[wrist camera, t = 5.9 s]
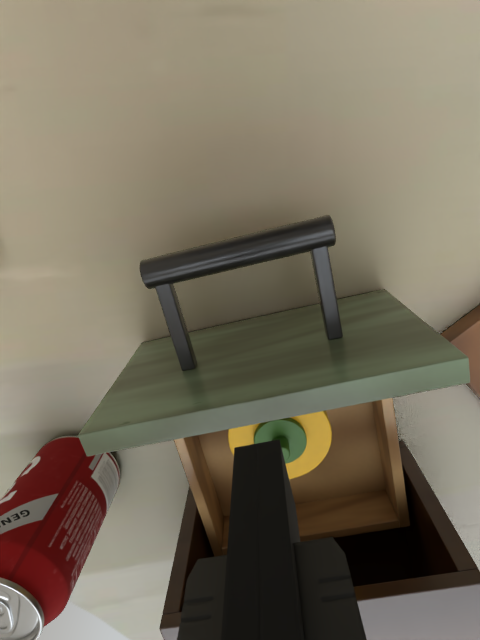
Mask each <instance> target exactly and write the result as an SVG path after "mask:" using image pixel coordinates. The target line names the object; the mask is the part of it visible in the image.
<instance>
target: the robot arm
mask: <svg viewBox="0 0 480 640" xmlns="http://www.w3.org/2000/svg"><path fill="white" fill-rule="evenodd" d="M177 640H367V639H366V635H365V631H364V627H363V623H362V619H361V615H360V611H359V607H358V603H357V599H356V595H355V591H354V587H353V583H352V579H351V575H350V571H349V567H348V563H347V559H346V555H345V553H344V551H343V550H342V549H341V548H340V546H339V545H338V544H337V542H336V541H335V540H334V538H333V537H329V538H322V539H316V540H309V541H303V542H300V535H299V528H298V520H297V513H296V506H295V501H294V497H293V493H292V489H291V485H290V481H289V477H288V473H287V468H286V464H285V460H284V456H283V452H282V448H281V444H280V439H278V440H273V441H268V442H262V443H257V444H251V445H246V446H240V447H235V448H234V461H233V475H232V490H231V504H230V518H229V532H228V547H227V555H222V556H216V557H209V558H203V559H198V560H197V562H196V564H195V566H194V567H193V569H192V571H191V573H190V575H189V577H188V578H187V583H186V589H185V595H184V605H183V607H182V613H181V623H180V625H179V631H178V637H177Z"/></svg>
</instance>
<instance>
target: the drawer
mask: <svg viewBox="0 0 480 640" xmlns="http://www.w3.org/2000/svg"><path fill="white" fill-rule="evenodd" d="M335 243H336V236H335V230H334V225H333V222H332V219H331V217H330V216H329V215H326V216H322V217H317V218H313V219H309V220H305V221H301V222H297V223H293V224H289V225H285V226H281V227H277V228H272V229H268V230H264V231H260V232H256V233H252V234H248V235H244V236H240V237H236V238H231V239H227V240H223V241H219V242H215V243H211V244H207V245H203V246H199V247H195V248H190V249H186V250H182V251H178V252H174V253H170V254H166V255H162V256H158V257H154V258H150V259H145V260H142V261H141V262H140V273H141V277H142V280H143V282H144V284H145V286H146V287H147V288H148V289H152V288H156V291H157V295H158V298H159V301H160V304H161V307H162V310H163V313H164V316H165V320H166V323H167V326H168V329H169V332H170V335H171V337H166V338H161V339H157V340H152V341H148V342H143V343H141V345H140V346H139V348H138V349H137V351H136V352H135V354H134V355H133V356H132V358H131V359H130V361H129V362H128V364H127V365H126V367H125V368H124V369H123V371H122V372H121V374H120V375H119V377H118V378H117V380H116V381H115V382H114V384H113V385H112V387H111V388H110V390H109V391H108V392H107V394H106V395H105V397H104V398H103V400H102V401H101V403H100V404H99V405H98V407H97V408H96V410H95V411H94V413H93V414H92V416H91V417H90V418H89V420H88V421H87V423H86V424H85V426H84V427H83V429H82V430H81V431H80V433H79V434H78V437H79V439H80V441H81V444H82V446H83V448H84V451H85V453H86V455H87V456H92V455H98V454H103V453H108V452H113V451H118V450H124V449H129V448H134V447H139V446H144V445H150V444H155V443H160V442H165V441H170V440H174V442H175V444H176V447H177V450H178V453H179V456H180V459H181V462H182V465H183V468H184V470H185V473H186V476H187V479H188V482H189V485H190V488H191V491H192V493H193V496H194V499H195V502H196V505H197V508H198V511H199V514H200V517H201V519H202V522H203V525H204V528H205V531H206V534H207V537H208V540H209V542H210V545H211V548H212V551H213V554H214V556H215V557H216V556H222V555H223V554H224V555H227V547H228V532H229V518H230V504H231V490H232V475H233V461H234V456H233V454H232V452H231V449H230V447H229V442H228V430H229V429H232V428H238V427H243V426H248V425H253V424H258V423H264V422H269V421H274V420H279V419H284V418H290V417H295V416H300V415H305V414H310V413H315V412H321V411H326V412H327V415H328V419H329V422H330V425H331V430H332V440H331V445H330V448H329V451H328V453H327V455H326V456H325V458H324V459H323V461H322V462H321V463H320V464H319V465H318V466H317V467H316V468H314V469H313V470H312V471H310V472H308V473H306V474H304V475H302V476H299V477H297V478H293V479H289V481H290V485H291V489H292V493H293V497H294V501H295V506H296V513H297V520H298V528H299V535H300V542H303V541H309V540H316V539H322V538H329V537H333V538H337V537H343V536H350V535H356V534H362V533H369V532H375V531H381V530H387V529H394V528H399V527H407V526H410V520H409V512H408V505H407V498H406V491H405V484H404V477H403V470H402V463H401V455H400V448H399V441H398V434H397V427H396V420H395V413H394V406H393V397H398V396H404V395H409V394H414V393H419V392H424V391H430V390H435V389H440V388H445V387H450V386H456V385H461V384H466V383H470V371H469V358H468V357H467V356H466V355H465V354H464V353H462V352H461V351H460V350H459V349H458V348H456V347H455V346H454V345H453V344H451V343H450V342H449V341H448V340H446V339H445V338H444V337H443V336H442V335H440V334H439V333H438V332H437V331H435V330H434V329H433V328H432V327H430V326H429V325H428V324H427V323H426V322H424V321H423V320H422V319H421V318H419V317H418V316H417V315H416V314H414V313H413V312H412V311H411V310H409V309H408V308H407V307H406V306H405V305H403V304H402V303H401V302H400V301H398V300H397V299H396V298H395V297H393V296H392V295H391V294H390V293H389V292H387V291H386V290H385V289H383V290H378V291H374V292H369V293H365V294H360V295H356V296H351V297H347V298H342V299H338V300H337V298H336V292H335V286H334V281H333V275H332V269H331V264H330V258H329V252H328V247H331V246H334V245H335ZM309 251H310V254H311V259H312V264H313V269H314V275H315V280H316V285H317V291H318V296H319V301H320V304H315V305H311V306H306V307H302V308H297V309H293V310H288V311H283V312H279V313H274V314H270V315H265V316H261V317H256V318H252V319H247V320H243V321H238V322H234V323H229V324H225V325H220V326H216V327H211V328H207V329H202V330H198V331H193V332H189V333H188V330H187V327H186V324H185V320H184V317H183V314H182V311H181V307H180V304H179V301H178V297H177V294H176V291H175V288H174V283H178V282H182V281H186V280H191V279H195V278H199V277H203V276H207V275H212V274H216V273H220V272H224V271H229V270H233V269H237V268H241V267H246V266H250V265H254V264H258V263H263V262H267V261H271V260H275V259H280V258H284V257H288V256H292V255H297V254H301V253H305V252H309Z"/></svg>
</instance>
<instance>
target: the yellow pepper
mask: <svg viewBox="0 0 480 640" xmlns="http://www.w3.org/2000/svg"><path fill="white" fill-rule="evenodd" d="M278 439H280V444H281V448H282V452H283V456H284V460H285V464H286V468H287V473H288V477H289V479H293V478H297V477H299V476H302V475H304V474H306V473H308V472H310V471H312V470H313V469H314V468H316V467H317V466H318V465H319V464H320V463H321V462H322V461H323V459H324V458H325V456H326V455H327V453H328V451H329V448H330V445H331V440H332V430H331V425H330V422H329V419H328V415H327V412H326V411H321V412H315V413H310V414H305V415H300V416H295V417H290V418H284V419H279V420H274V421H269V422H264V423H258V424H253V425H248V426H243V427H238V428H232V429H229V430H228V442H229V447H230V449H231V452H232V454H233V456H234V448H235V447H240V446H246V445H251V444H257V443H262V442H268V441H273V440H278Z"/></svg>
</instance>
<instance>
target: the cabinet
mask: <svg viewBox="0 0 480 640" xmlns="http://www.w3.org/2000/svg"><path fill="white" fill-rule="evenodd" d="M399 448H400V455H401V463H402V470H403V477H404V484H405V491H406V498H407V505H408V512H409V520H410V526H407V527H399V528H394V529H387V530H381V531H375V532H369V533H362V534H356V535H350V536H343V537H337V538H334V540H335V541H336V542H337V544H338V545H339V546H340V548H341V549H342V550H343V551H344V553H345V555H346V559H347V563H348V567H349V571H350V575H351V579H352V583H353V587H354V591H355V595H356V599H357V603H358V607H359V611H360V615H361V619H362V623H363V627H364V631H365V635H366V639H367V640H480V571H479V570H478V567H477V566H476V564H475V562H474V561H473V559H472V557H471V555H470V554H469V552H468V550H467V549H466V547H465V545H464V543H463V542H462V540H461V538H460V537H459V535H458V533H457V531H456V530H455V528H454V526H453V525H452V523H451V521H450V519H449V518H448V516H447V514H446V513H445V511H444V509H443V507H442V506H441V504H440V502H439V501H438V499H437V497H436V495H435V494H434V492H433V490H432V489H431V487H430V485H429V483H428V482H427V480H426V478H425V477H424V475H423V473H422V471H421V470H420V468H419V466H418V465H417V463H416V461H415V459H414V458H413V456H412V454H411V453H410V451H409V449H408V447H407V446H406V444H405V442H404V441H399ZM223 555H224V554H223ZM209 557H215V556H214V554H213V551H212V548H211V545H210V542H209V540H208V537H207V534H206V531H205V528H204V525H203V522H202V519H201V517H200V514H199V511H198V508H197V505H196V502H195V499H194V496H193V493H192V491H191V488H190V486H189V490H188V495H187V500H186V505H185V509H184V514H183V519H182V524H181V529H180V533H179V538H178V543H177V548H176V552H175V557H174V562H173V567H172V571H171V576H170V581H169V586H168V591H167V595H166V600H165V605H164V610H163V615H162V619H161V624H160V631H161V634H162V636H163V638H164V640H177V637H178V631H179V625H180V623H181V613H182V607H183V605H184V595H185V589H186V583H187V578H188V577H189V575H190V573H191V571H192V569H193V567H194V566H195V564H196V562H197V560H198V559H203V558H209Z"/></svg>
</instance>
